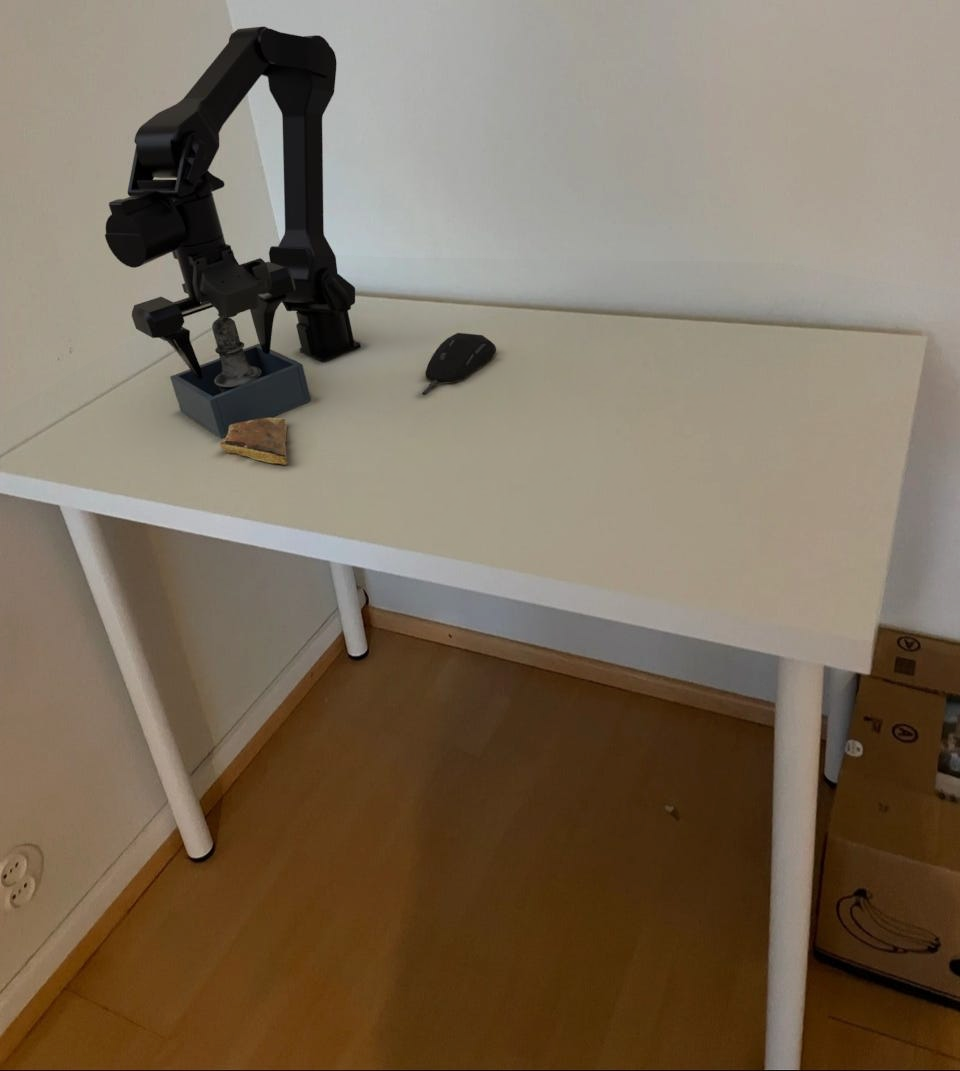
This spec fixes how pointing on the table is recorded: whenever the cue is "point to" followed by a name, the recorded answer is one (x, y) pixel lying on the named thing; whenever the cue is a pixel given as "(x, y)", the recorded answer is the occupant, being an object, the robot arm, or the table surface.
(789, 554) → the table surface
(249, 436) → the shard
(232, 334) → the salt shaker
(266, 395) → the bin
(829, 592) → the table surface
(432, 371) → the gaming mouse
